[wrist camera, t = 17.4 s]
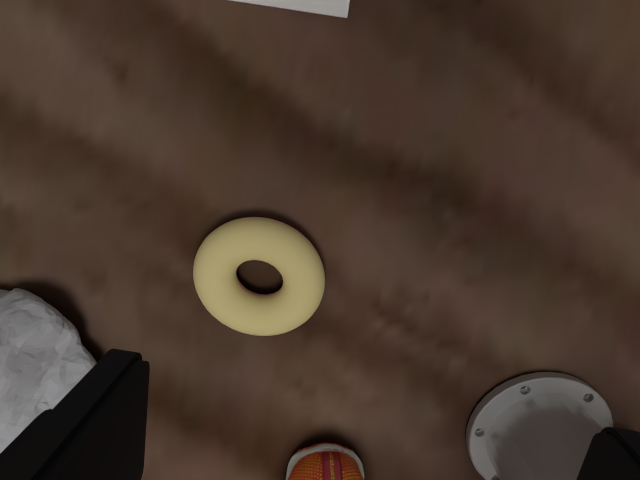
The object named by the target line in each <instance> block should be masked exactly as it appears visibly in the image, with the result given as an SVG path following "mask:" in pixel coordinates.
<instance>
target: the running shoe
mask: <svg viewBox="0 0 640 480" xmlns="http://www.w3.org/2000/svg"><path fill="white" fill-rule="evenodd" d="M286 480H364V470H363V466H362V463H361V461H360V459H359V457H358V456H357V455H356V454H355V453H354V451H353V450H350V449H349V448H347V447H344V446H341V445H339V444H336V443H328V442H325V443H318V444H314V445H312V446H310V447H306V448H303V449H301V450H298V452H296V453H295V454H294V455H293V456H292V458H291V460H290V462H289V464H288V468H287V474H286Z"/></svg>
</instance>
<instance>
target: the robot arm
mask: <svg viewBox="0 0 640 480" xmlns="http://www.w3.org/2000/svg"><path fill="white" fill-rule="evenodd" d="M149 370H150V367H149V362H148V361H142V356H141V354H140V353H137V352H131V351H125V350H118V349H111V350H109V351H108V352H107V353H106V354H105V355H104V356H103V357H102V358H101V359H100V360H99V361H98V362H97V363H96V364H95V365H94V367H93V368H92V369H91V370H90V371H89V372H88V373H87V374H86V375H85V376H84V377H83V378H82V379H81V380H80V381H79V382H78V383H77V384H76V385H75V386H74V387H73V388H72V389H71V390H70V391H69V392H68V393H67V395H66V396H65V397H64V398H63V399H62V400H61V401H60V402H59V403H58V404H57V405H56V406H55V407H54V408H53V409H48V410H45V411H43V412H42V413H41V414H39V415H38V416H37V417H36V418H35V419H34V420H33V421H32V422H31V423H30V424H29V425H28V426H27V427H26V428H25V429H24V430H23V431H22V432H21V433H20V434H19V435H18V436H17V437H16V438H15V439H14V440H13V441H12V442H11V443H10V444H9V445H8V446H7V447H6V448H5V449H4V450H3V451H2V452H1V453H0V480H141V477H142V473H143V468H144V453H145V437H146V420H147V403H148V386H149ZM466 446H467V450H468V453H469V456H470V458H471V461H472V463H473V465H474V467H475V469H476V470H477V471H478V473H479V474H480V475H481V476H482V477H483V478H484V479H485V480H640V433H639V432H637V431H633V430H626V429H620V428H614V427H613V419H612V415H611V411H610V409H609V408H608V406H607V404H606V402H605V401H604V400H603V398H602V397H601V396H600V395H599V394H598V393H597V392H596V391H595V390H594V389H593V388H592V387H591V386H590V385H588V384H587V383H586V382H584V381H582V380H580V379H578V378H576V377H573V376H570V375H567V374H564V373H555V372H536V373H531V374H526V375H522V376H519V377H516V378H513V379H511V380H508V381H506V382H505V383H503V384H501V385H499V386H498V387H496V388H495V389H493V390H492V391H491V392H490V393H488V394H487V395H486V396H485V397H484V398H483V399H482V400H481V402H480V403H479V404H478V405H477V406H476V408H475V410H474V411H473V413H472V415H471V417H470V419H469V422H468V425H467V430H466Z"/></svg>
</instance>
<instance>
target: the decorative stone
mask: <svg viewBox="0 0 640 480" xmlns="http://www.w3.org/2000/svg"><path fill="white" fill-rule="evenodd" d="M96 363H97V362H96V361H95V359H94V358H93V356H92V355H91V354H90V353H89V352H88V351H87V349H86V348H85V347H84V346H83V345H82V343H81V340H80V337H79V333H78V331H77V329H76V328H75V326H74V325H73V324H72V323H71V322H70V321H69V320H67V319H66V318H65V317H64V316H63V315H62V314H61V313H60V312H59V311H58V310H57V309H55V308H54V307H52V306H51V305H49V304H48V303H46V302H45V301H44V300H43V299H41V298H40V297H38V296H36V295H34V294H32V293H30V292H28V291H26V290H23V289H19V288H15V289H13V290H11V291H7V290H1V289H0V453H1V452H2V451H3V450H4V449H5V448H6V447H7V446H8V445H9V444H10V443H11V442H12V441H13V440H14V439H15V438H16V437H17V436H18V435H19V434H20V433H21V432H22V431H23V430H24V429H25V428H26V427H27V426H28V425H29V424H30V423H31V422H32V421H33V420H34V419H35V418H36V417H37V416H38V415H39V414H41V413H42V412H43V411H45V410H48V409H53V408H54V407H55V406H56V405H57V404H58V403H59V402H60V401H61V400H62V399H63V398H64V397H65V396H66V395H67V393H68V392H69V391H70V390H71V389H72V388H73V387H74V386H75V385H76V384H77V383H78V382H79V381H80V380H81V379H82V378H83V377H84V376H85V375H86V374H87V373H88V372H89V371H90V370H91V369H92V368H93V367H94V365H95V364H96Z"/></svg>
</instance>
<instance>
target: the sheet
mask: <svg viewBox="0 0 640 480" xmlns="http://www.w3.org/2000/svg"><path fill="white" fill-rule="evenodd" d="M229 1H236V2H243V3H249V4H256V5H262V6H269V7H276V8H282V9H289V10H295V11H302V12H309V13H315V14H322V15H328V16H335V17H342V18H347V16H348V9H349V2H350V0H229Z"/></svg>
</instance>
